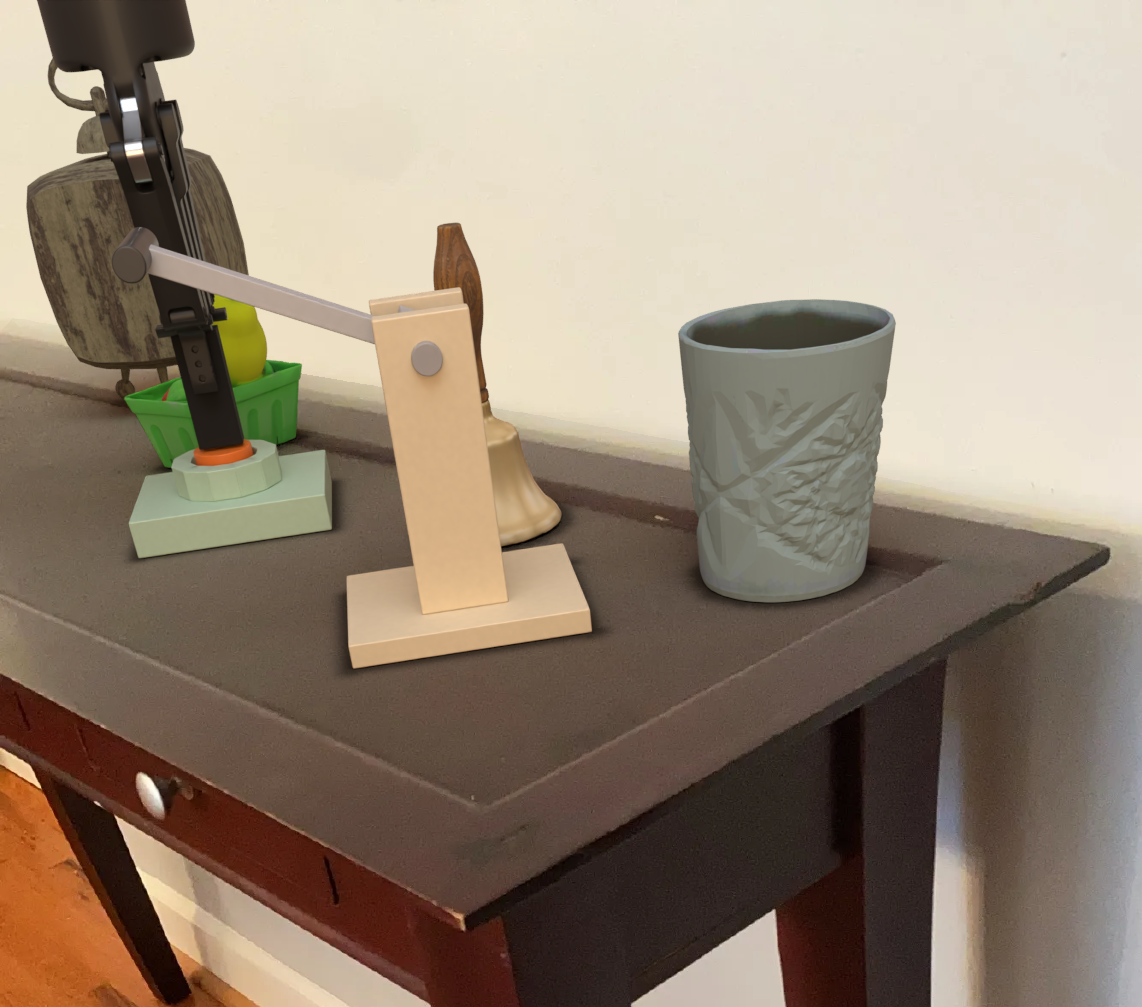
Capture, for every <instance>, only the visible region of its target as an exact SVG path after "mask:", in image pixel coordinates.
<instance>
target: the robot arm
mask: <svg viewBox="0 0 1142 1007" xmlns="http://www.w3.org/2000/svg"><path fill="white" fill-rule="evenodd" d="M36 2H37V6H38V9H39V13H40V17H41V20H42V24H43V27H44V31H45V35H46V39H47V42H48V47H49V49H50V54H51V57H52V58H53V61H54V63H55V65H56V66H57V67H58V68H57V69H59V70H60V71H62V72H64V73H81V72H89V71H99V72H100V74H101V77H102V80H103V90H104V93H105V97H106V99H107V104H108V109H105V112H101V113H99V117H100V122H101V126H102V130H103V134H104V138H105V142H106V144H107V147H108V148H109V149H110V151H109V156H110V159H111V162H113V163H114V166H115V169H116V172H117V175H118V177H119V180H120V183H121V186H122V189H123V192H124V196H125V198H126V201H127V205H128V208H129V211H130V215H131V218H132V222H133V225H134V228H136V227H143V228H146V229H148V230H150V231H151V232H152V233H153V234H154V235H155V236H156V238H157V240H158V244H159V247H161V248H164V249H167V250H170V251H173V252H176V253H179V254H182V255H186V256H189V257H192V258H195V259H198V260H201V261H204V262H206V261H205V256H204V251H203V247H202V242H201V237H200V233H199V228H198V223H197V219H196V214H195V209H194V205H193V200H192V195H191V191H190V186H191V177H190V172H189V168H188V164H187V160H186V155H185V151H184V148H185V147H184V142H183V138H182V137H183V133H184V124H183V119H182V114H181V111H180V106H179V103H178V101H177V99H169V100H166V98H165V94H164V90H163V87H162V84H161V80H160V76H159V72H158V70H157V67H156V64H155V63H156V62H164V61H170V60H175V59H180V58H185V57H188V56H191V54H192V53H193V51H194V50H195V46H196V41H195V36H194V32H193V28H192V23H191V19H190V14H189V9H188V6H187V1H186V0H36ZM148 276H149V279H150V283H151V286H152V289H153V293H154V296H155V300H156V303H157V306H158V310H159V313H160V315H159V319H160V322H161V325H157V326H156V329H155V331H156V334H157V337H158V338H165V337H171V341H172V345H173V349H174V353H175V357H176V360H177V364H178V365H177V368H178V372H179V375H180V376H179V377H181V380H182V384H183V388H184V391H185V395H186V399H187V403H188V407H189V411H190V415H191V419H192V422H193V426H194V430H195V434H196V438H197V442H198V446H199V449H200V450H203V449H210V448H216V447H223V446H230V445H237V444H243V441H244V434H243V430H242V426H241V422H240V418H239V413H238V409H237V405H236V401H235V397H234V392H233V388H232V384H231V380H230V376H229V371H228V367H227V363H226V359H225V355H224V350H223V346H222V342H221V338H220V334H219V329H218V325H212V324H213V322H217V321H224V320H227V312H226V307H223V308H216V309H215V307H214V306H213V305H214V302H215V299H214V298H215V294H212V293H209V292H206V291H203V290H200V289H196V288H193V287H190V286H187V285H184V284H180V283H177V282H174V281H171V280H168V279H164V278H161V277H158V276H155V275H152V274H149V273H148Z"/></svg>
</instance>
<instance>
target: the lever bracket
mask: <svg viewBox="0 0 1142 1007" xmlns="http://www.w3.org/2000/svg"><path fill="white" fill-rule="evenodd" d="M400 305H402V306H405V307H408V308H411V309H414V310H416V311H409V312H402V313H398V310H399V306H400ZM368 306H369V314H370V315H373V316H374V317H371V324H372V330H373V336H374V341H375V344H374V347H375V352H376V357H377V359H376V360H377V364H378V369H379V375H380V381H381V387H382V392H383V398H384V399H383V400H384V404H385V409H386V416H387V421H388V427H389V432H390V438H391V439H390V440H391V444H392V450H393V456H394V461H395V466H396V472H397V479H398V484H399V489H400V495H401V500H402V506H403V512H404V518H405V523H406V530H407V534H408V540H409V541H408V542H409V547H410V552H411V558H412V563H413V565H409V566H403V567H396V568H390V569H383V570H376V571H369V572H362V573H357V574H350V575H349V574H348V575H346V578H345V579H346V607H347V608H346V609H347V610H346V611H347V643H348V644H347V646H348V647H347V648H348V652H349V656H350V662H351V666H352V668H353V669H361V668H367V667H373V666H379V665H387V664H393V663H399V662H405V661H412V660H418V659H425V658H431V657H437V656H445V655H451V654H457V653H463V652H471V651H477V650H483V649H489V648H494V647H496V648H497V647H501V646H508V645H514V644H515V645H516V644H521V643H528V642H535V641H541V640H547V639H555V638H560V637H567V636H573V635H579V634H587V633H592V632H593V626H592V617H591V616H592V615H591V609H590V607H589V606H590V605H589V603H588V601H587V599H586V596H585V594H584V591H583V589H582V587H581V585H580V582H579V580H578V577H577V575H576V572H575V570H574V568H573V565H572V562H571V560H570V557H569V555H568V552H567V550H566V547H565V545H564V543H561V542H559V543H554V544H549V545H547V544H546V545H541V546H533V547H528V548H523V549H522V548H521V549H515V550H507V551H502V546H501V543H500V535H499V528H498V520H497V513H496V506H495V498H494V491H493V483H492V476H491V468H490V461H489V454H488V446H487V439H486V431H485V424H484V417H483V409H482V402H481V394H480V387H479V379H478V372H477V365H476V357H475V350H474V342H473V335H472V328H471V320H470V313H469V308H468V305H467V304H464V302H463V294H462V290H461V288H460V287H458V288H451V289H444V290H437V291H434V290H430V291H424V292H417V293H409V294H403V295H396V296H387V297H381V298H374V299H373V298H372V299H369V300H368Z"/></svg>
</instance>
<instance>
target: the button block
mask: <svg viewBox="0 0 1142 1007" xmlns="http://www.w3.org/2000/svg"><path fill="white" fill-rule="evenodd" d="M248 441H250V443H251V446H252V450H253V454H254V455H253V456H251V457H249V458H247V459H244V460H241V461H237V462H234V463H230V464H223V465H217V466H197V465H196V461H195V457H194V450H195V449H193V450H191V451H188V452H186V453H184V454H182V455H181V456H179V457H177V458H175V459H174V460H173V463H172V466H171V468H170V469H171V471H170V472H163V473H156V474H150V475H145V477H144V479H143V482H142V485H141V488H140V491H139V494H138V496H137V499H136V502H135V504H134V507H133V510H132V513H131V515H130V518H129V521H128V524H127V525H128V528H129V532H130V534H131V539H132V541H133V542H132V543H133V545H134V548H135V552H136V554H137V558H138V559H144V558H145V559H146V558H151V557H158V556H165V555H173V554H178V553H185V552H192V551H198V550H206V549H212V548H218V547H225V546H232V545H233V546H234V545H238V544H246V543H253V542H258V541H264V540H271V539H278V538H285V537H291V536H298V535H305V534H313V533H318V532H325V531H331V530H333V481H332V480H333V479H332V475H331V471H330V467H329V461H328V457H327V451H326V450H325V449H320V450H313V451H305V452H300V453H299V452H298V453H293V454H284V455H279V451H278V447H277V445H276V444H273V443H270V442H267V441H264V440H248Z"/></svg>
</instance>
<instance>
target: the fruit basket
mask: <svg viewBox="0 0 1142 1007" xmlns="http://www.w3.org/2000/svg"><path fill="white" fill-rule="evenodd" d="M214 299H215V302H214V305H213V306H214V307H215V309H216V308H223V307H226V312H227V320H224V321H217V322H213V324H212V325H218V329H219V334H220V338H221V342H222V346H223V350H224V355H225V359H226V363H227V367H228V371H229V376H230V380H231V384H232V388H233V392H234V397H235V401H236V405H237V409H238V413H239V418H240V422H241V426H242V430H243V434H244V439H245V440H264V441H267V442H270V443H273V444H276V446H277V445H280V444H285V443H287V442H289V441H292V440H293V439H296V437H297V428H298V426H297V425H298V407H299V406H298V405H299V385H300V380H301V376H302V367H303V364H302V363H300V362H288V361H283V360H275V359H273V360H271V359H268V358H267V357H268V343H267V336H266V333H265V331H264V328H263V326H262V324H261V322H260V320H259V318H258V312H257V310H256V307H254V306H251V305H247V304H244V303H241V302H238V301H235V300H231V299H228V298H225V297H222V296H219V295H215V298H214ZM123 400H124V401H125V403H126V404H127V407H128V408H129V409H130V411H131V412H132V413H133V414H134V415H135V416H136V418H137V421H138V422H139V424H140V425H141V428H142V429H143V431H144V433H145V435H146V436H147V438H148V440H149V442H150V443H151V445H152V447H153V449H154V451H155V452H156V454H157V456H158V458H159V460H160V462H161V463H162V465H163V467H165V468H169V469H172V468H171V466H172V463H173V460H174V459H175V458H177V457H179V456H181V455H182V454H184V453H186V452H188V451H191V450H193V449H196V448H198V447H199V446H198V442H197V438H196V434H195V430H194V426H193V422H192V419H191V415H190V411H189V407H188V403H187V399H186V395H185V391H184V388H183V384H182V380H181V376H178V377H176V378H173V379H170V380H168V382H165V383H162V384H161V383H159V384H157V385H154V386H151V387H147V388H146V389H143V390H139V391H137V392H136V391H135V393H133V394H130V395H127V396H126V397H125V398H124V399H123Z"/></svg>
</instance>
